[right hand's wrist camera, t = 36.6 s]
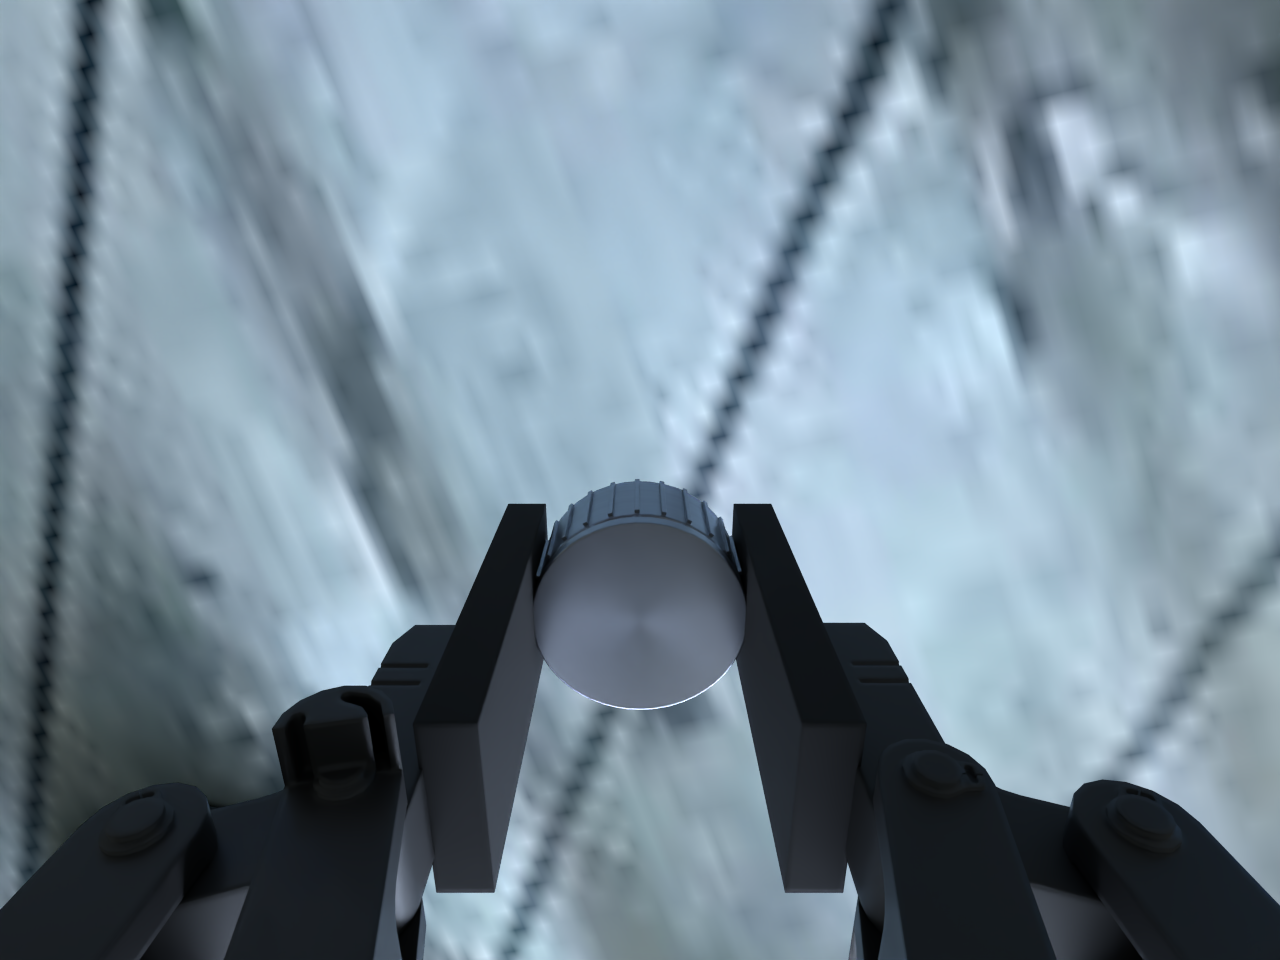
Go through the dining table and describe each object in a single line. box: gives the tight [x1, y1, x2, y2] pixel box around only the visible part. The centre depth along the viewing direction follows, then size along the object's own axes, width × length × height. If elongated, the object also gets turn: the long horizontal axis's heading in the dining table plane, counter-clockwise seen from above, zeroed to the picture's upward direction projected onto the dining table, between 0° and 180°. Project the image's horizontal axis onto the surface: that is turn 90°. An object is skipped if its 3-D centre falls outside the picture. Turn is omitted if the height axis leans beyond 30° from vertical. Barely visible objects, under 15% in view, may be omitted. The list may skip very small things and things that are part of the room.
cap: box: [533, 479, 746, 710], centre depth 14 cm, size 4×4×2 cm
